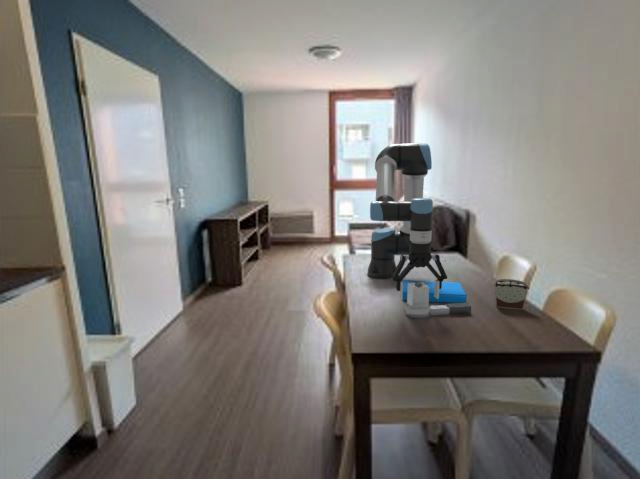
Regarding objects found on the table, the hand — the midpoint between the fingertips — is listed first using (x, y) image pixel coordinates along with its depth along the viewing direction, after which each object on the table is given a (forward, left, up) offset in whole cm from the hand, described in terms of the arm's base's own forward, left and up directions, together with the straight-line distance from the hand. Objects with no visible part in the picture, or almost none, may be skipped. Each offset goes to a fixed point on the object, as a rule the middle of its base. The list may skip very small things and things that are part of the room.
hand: (418, 298), depth 141 cm
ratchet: (0, +7, -6) cm, 10 cm away
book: (-20, +13, -7) cm, 25 cm away
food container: (-4, +38, -7) cm, 39 cm away
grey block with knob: (0, 0, -3) cm, 3 cm away
